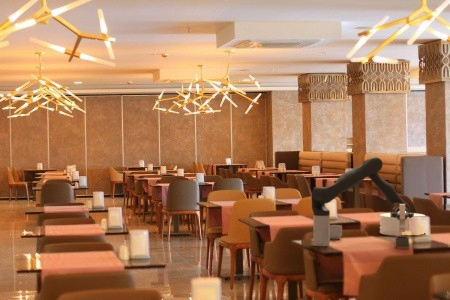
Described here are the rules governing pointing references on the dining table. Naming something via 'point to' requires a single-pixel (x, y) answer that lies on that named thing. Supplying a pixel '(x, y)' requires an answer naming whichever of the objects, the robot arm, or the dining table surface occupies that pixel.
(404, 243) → the dark grey block
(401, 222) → the slat
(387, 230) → the plate stack
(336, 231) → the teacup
